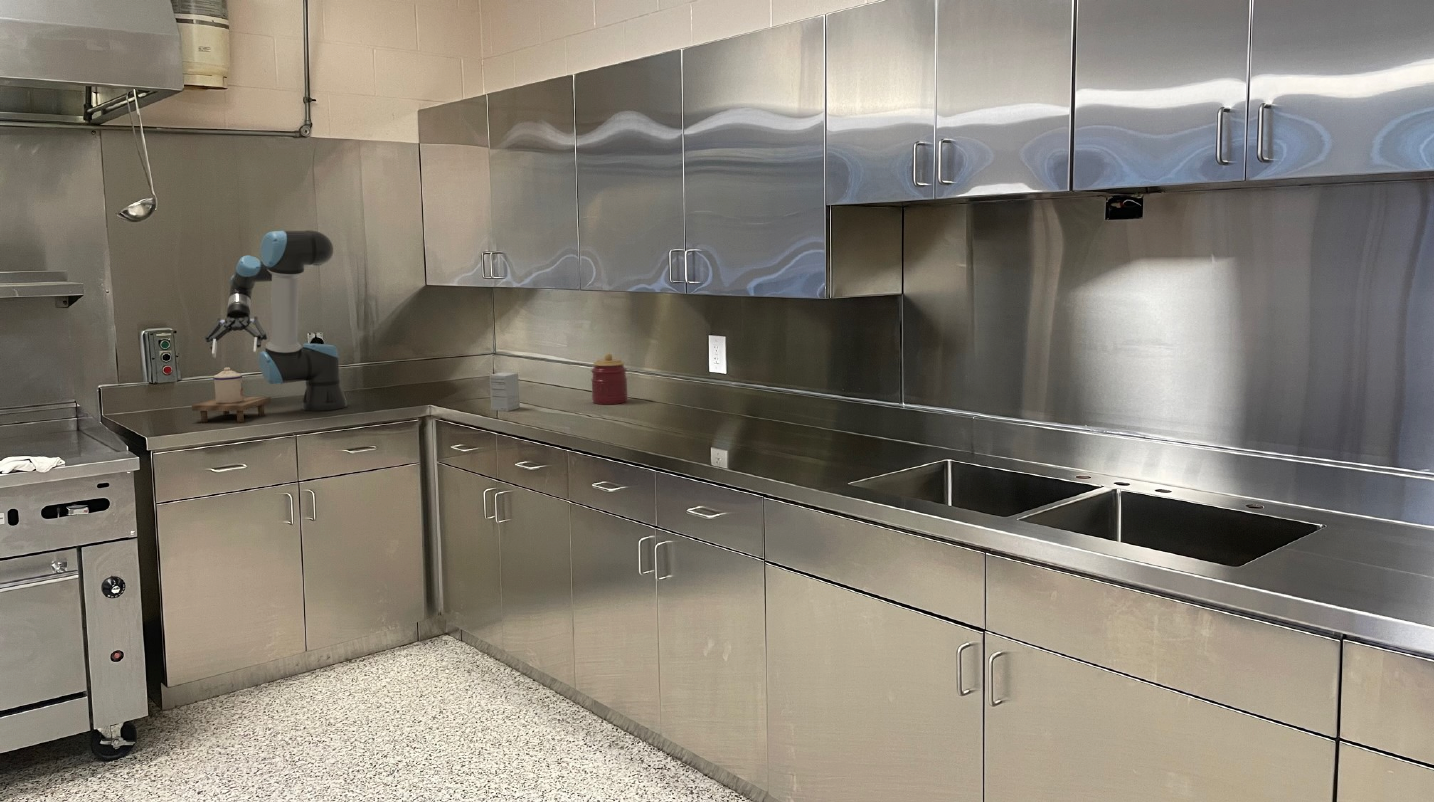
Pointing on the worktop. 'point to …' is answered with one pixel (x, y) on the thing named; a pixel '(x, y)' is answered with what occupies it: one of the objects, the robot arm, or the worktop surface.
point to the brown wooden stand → (231, 407)
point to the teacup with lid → (228, 387)
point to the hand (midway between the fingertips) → (234, 354)
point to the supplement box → (504, 391)
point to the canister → (609, 381)
